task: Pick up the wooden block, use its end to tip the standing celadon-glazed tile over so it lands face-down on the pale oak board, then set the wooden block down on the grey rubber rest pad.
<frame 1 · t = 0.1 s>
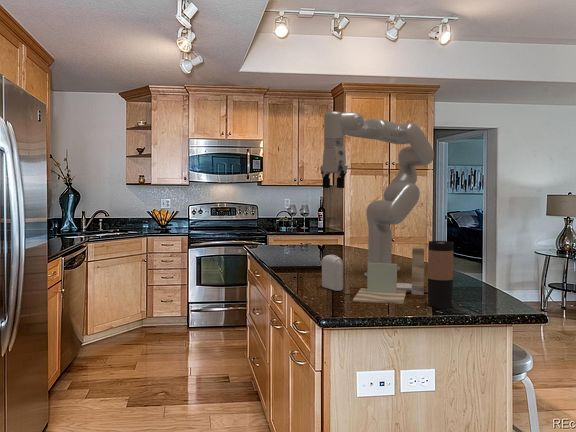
hand: (333, 187, 209), 37 cm above the table, tool pointing down, fingers open, 9 cm apart
travel mug: (439, 306, 167), on the table
tile: (382, 277, 186), point 6 cm above the table, touching oak board
oak board: (380, 296, 181), on the table
photo printer: (332, 289, 195), on the table
wooden block: (417, 293, 187), on the table
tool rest: (401, 287, 198), on the table
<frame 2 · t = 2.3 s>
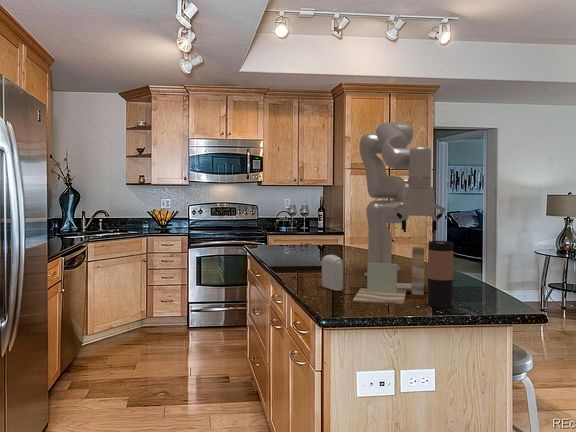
hand: (419, 232, 186), 21 cm above the table, tool pointing down, fingers open, 9 cm apart
nothing on the table moved.
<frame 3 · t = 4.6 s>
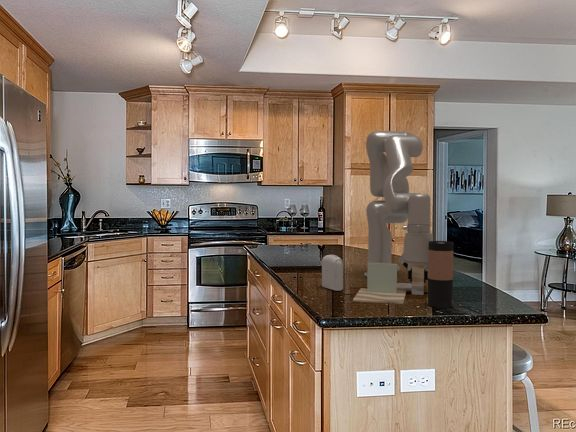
hand: (417, 281, 187), 4 cm above the table, tool pointing down, fingers closed on wooden block, 4 cm apart
wooden block: (417, 293, 187), on the table, touching gripper
everything else where it was.
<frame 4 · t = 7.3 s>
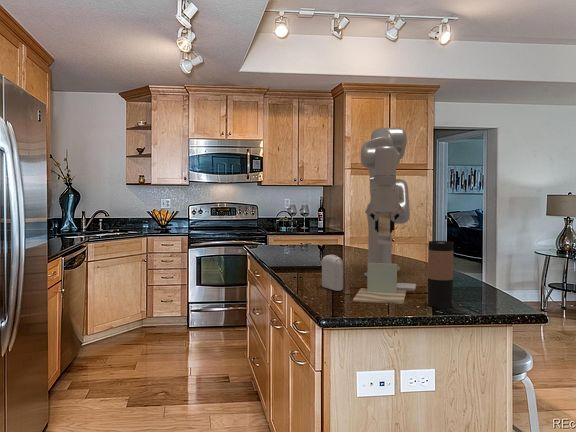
hand: (384, 231, 192), 21 cm above the table, tool pointing down, fingers closed on wooden block, 4 cm apart
wooden block: (384, 243, 192), point 17 cm above the table, touching gripper
everything else where it was.
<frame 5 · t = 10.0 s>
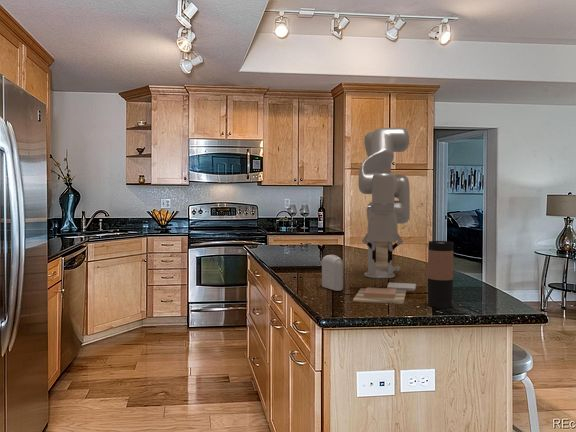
hand: (382, 261, 185), 11 cm above the table, tool pointing down, fingers closed on wooden block, 4 cm apart
tile: (380, 293, 180), point 1 cm above the table, tilted 90°, touching oak board
wooden block: (382, 274, 185), point 7 cm above the table, touching gripper
everything else where it was.
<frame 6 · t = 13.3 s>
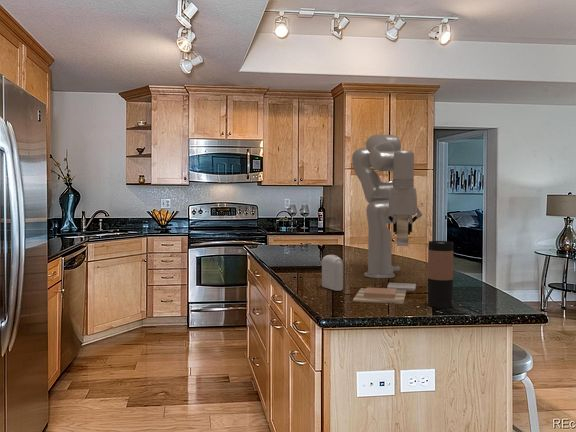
hand: (402, 233, 197), 20 cm above the table, tool pointing down, fingers closed on wooden block, 4 cm apart
wooden block: (402, 245, 197), point 16 cm above the table, touching gripper
everything else where it was.
when the fingers open (6 cm above the table, at t = 16.0 s): wooden block stays where it is, resting on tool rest.
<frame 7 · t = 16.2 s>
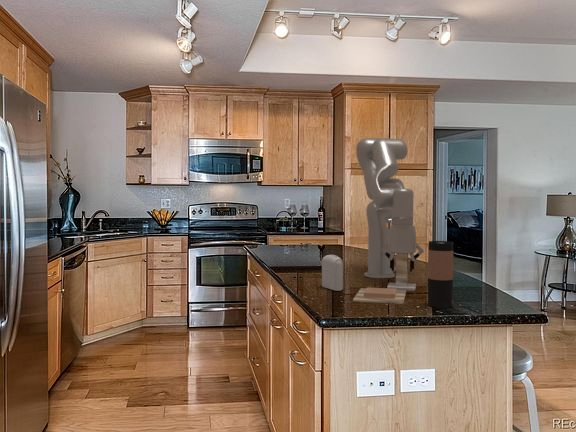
hand: (401, 270, 198), 6 cm above the table, tool pointing down, fingers open, 6 cm apart
wooden block: (401, 285, 198), point 1 cm above the table, touching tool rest
everything else where it was.
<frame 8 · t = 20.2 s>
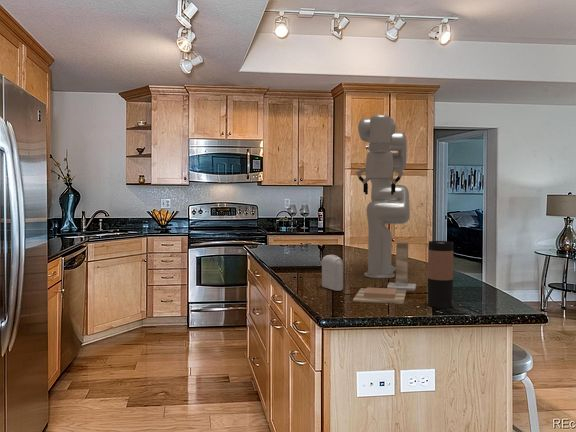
hand: (379, 194, 201), 34 cm above the table, tool pointing down, fingers open, 9 cm apart
nothing on the table moved.
at the end: tile inside the target area on the oak board (0.3 cm from its centre), point 1.4 cm above the oak board's base; tile tilted 90°; wooden block inside the target area on the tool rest (0.1 cm from its centre), point 0.8 cm above the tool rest's base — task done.
